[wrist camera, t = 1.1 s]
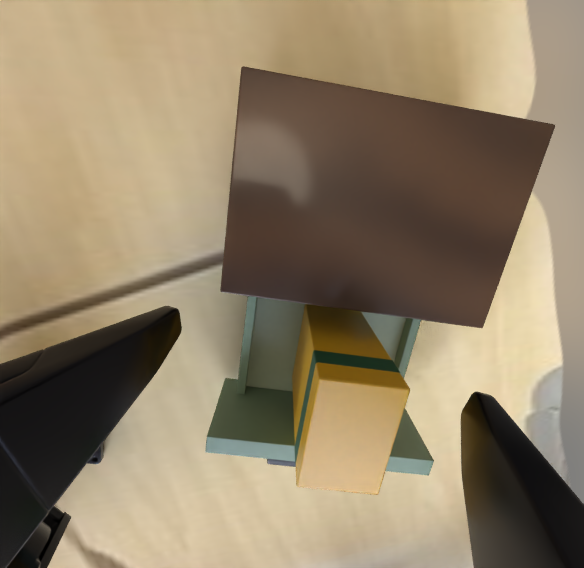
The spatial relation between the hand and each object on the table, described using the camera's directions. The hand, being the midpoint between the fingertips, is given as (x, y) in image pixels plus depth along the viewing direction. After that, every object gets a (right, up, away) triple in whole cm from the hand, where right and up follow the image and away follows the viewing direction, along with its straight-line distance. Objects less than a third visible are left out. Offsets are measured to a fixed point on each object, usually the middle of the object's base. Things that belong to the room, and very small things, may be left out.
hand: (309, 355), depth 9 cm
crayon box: (+2, -2, +13) cm, 14 cm away
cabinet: (+3, +8, +12) cm, 15 cm away
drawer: (+2, -4, +14) cm, 15 cm away
